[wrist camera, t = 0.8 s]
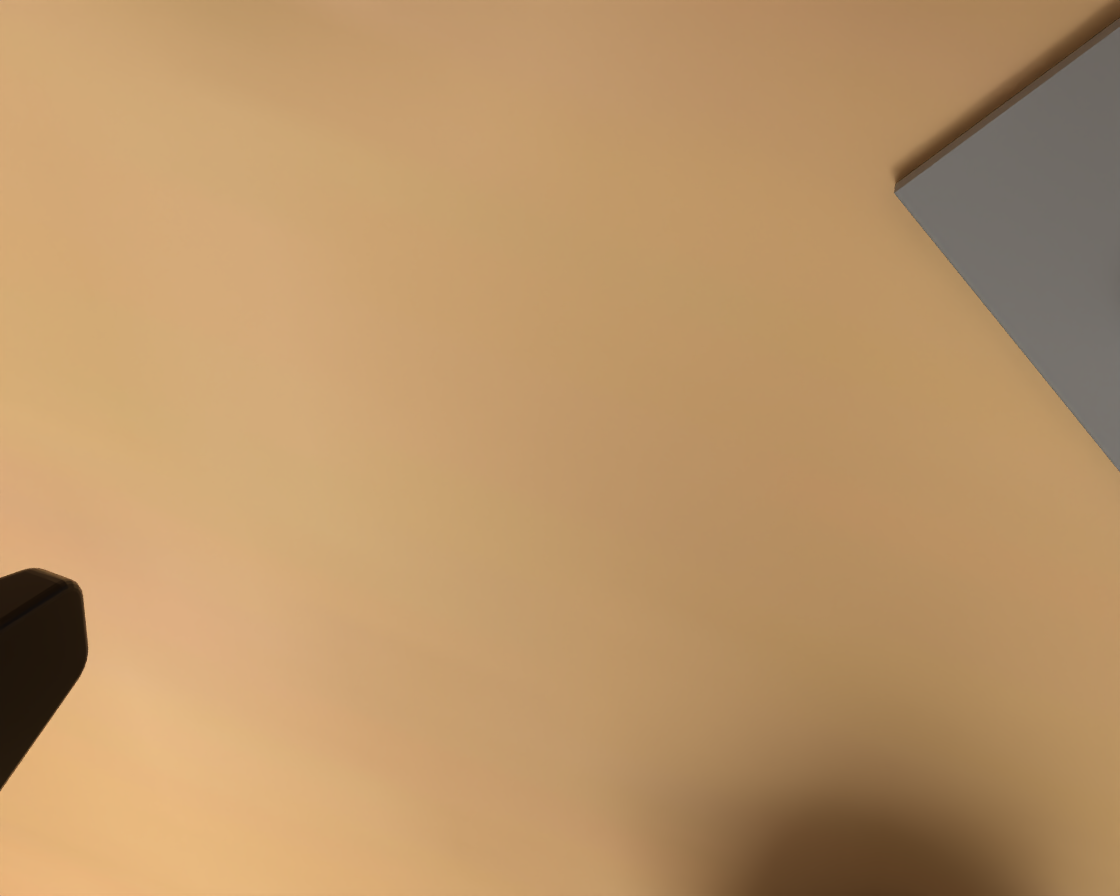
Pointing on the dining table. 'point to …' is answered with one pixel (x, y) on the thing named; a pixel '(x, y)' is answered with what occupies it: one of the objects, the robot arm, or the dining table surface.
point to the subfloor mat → (1043, 225)
